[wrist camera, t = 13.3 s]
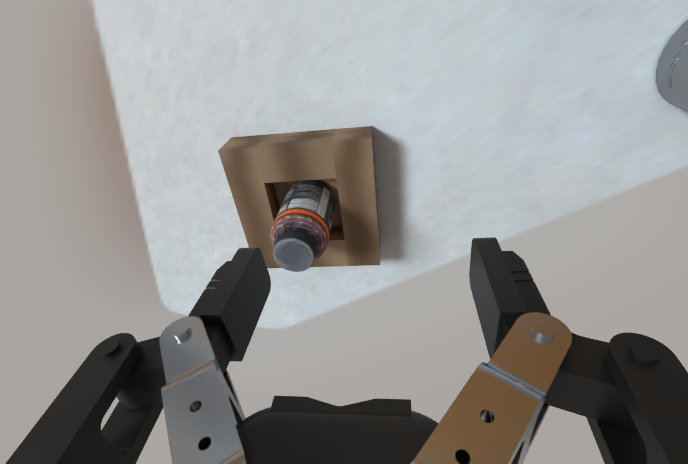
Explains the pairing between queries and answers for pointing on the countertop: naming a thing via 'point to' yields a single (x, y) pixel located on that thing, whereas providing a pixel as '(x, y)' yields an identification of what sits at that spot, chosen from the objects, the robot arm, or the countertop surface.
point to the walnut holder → (299, 165)
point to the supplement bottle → (303, 225)
